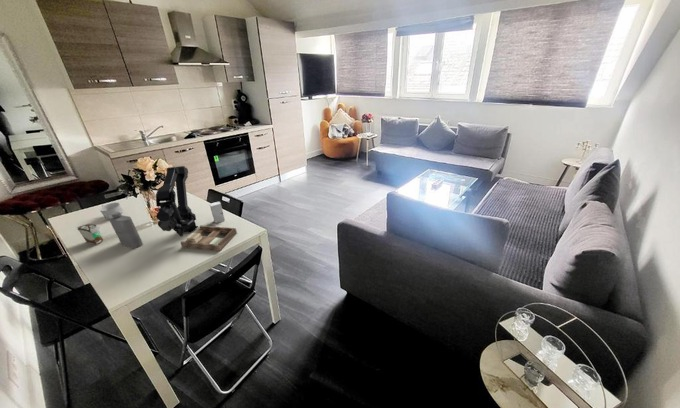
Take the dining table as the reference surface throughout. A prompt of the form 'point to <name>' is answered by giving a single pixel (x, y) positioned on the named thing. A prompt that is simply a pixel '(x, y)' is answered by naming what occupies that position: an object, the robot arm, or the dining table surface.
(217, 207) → the skincare box
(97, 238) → the food container
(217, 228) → the box
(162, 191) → the robot arm
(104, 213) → the teacup
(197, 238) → the birch block
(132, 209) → the dining table surface
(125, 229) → the flask
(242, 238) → the dining table surface
